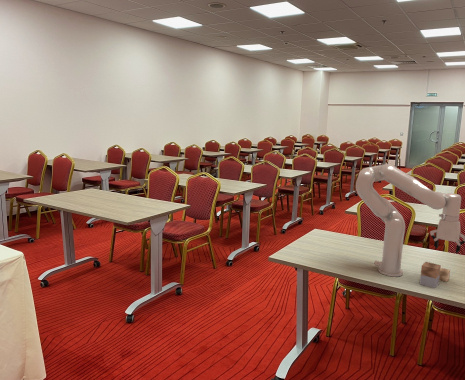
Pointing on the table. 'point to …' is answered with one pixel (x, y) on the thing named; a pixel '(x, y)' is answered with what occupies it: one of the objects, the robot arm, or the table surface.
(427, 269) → the top block
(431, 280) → the base block
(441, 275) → the oak cube
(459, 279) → the table surface
